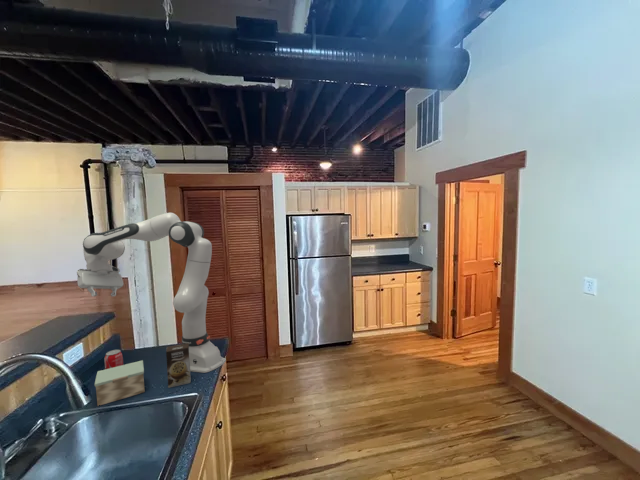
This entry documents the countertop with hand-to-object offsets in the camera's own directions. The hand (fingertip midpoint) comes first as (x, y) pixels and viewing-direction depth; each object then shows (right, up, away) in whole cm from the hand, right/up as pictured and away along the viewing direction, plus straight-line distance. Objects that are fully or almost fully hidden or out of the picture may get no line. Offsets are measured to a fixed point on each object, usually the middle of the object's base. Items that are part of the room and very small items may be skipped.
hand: (104, 296), depth 141 cm
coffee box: (+41, -37, -10) cm, 56 cm away
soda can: (+7, -38, -3) cm, 39 cm away
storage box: (+19, -38, -16) cm, 45 cm away
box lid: (+19, -30, -17) cm, 39 cm away
